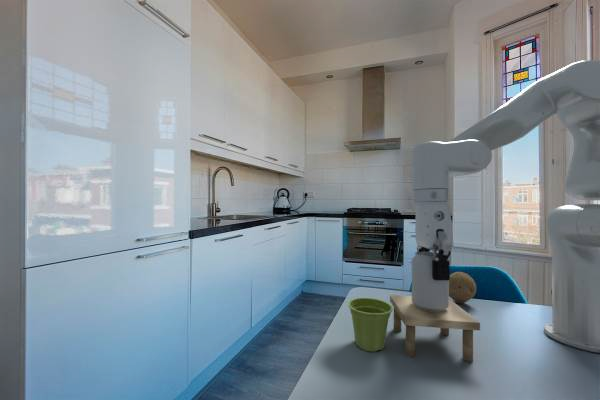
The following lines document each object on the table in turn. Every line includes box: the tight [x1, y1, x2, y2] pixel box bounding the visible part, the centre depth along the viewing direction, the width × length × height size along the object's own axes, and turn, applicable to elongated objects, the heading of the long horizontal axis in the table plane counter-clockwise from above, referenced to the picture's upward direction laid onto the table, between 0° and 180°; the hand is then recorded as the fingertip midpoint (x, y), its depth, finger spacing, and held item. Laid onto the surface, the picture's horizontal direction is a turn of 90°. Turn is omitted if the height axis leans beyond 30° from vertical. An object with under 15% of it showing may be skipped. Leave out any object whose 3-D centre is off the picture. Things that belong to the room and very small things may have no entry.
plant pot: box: [347, 297, 394, 353], centre depth 58 cm, size 9×9×9 cm
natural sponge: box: [449, 271, 477, 304], centre depth 85 cm, size 9×9×10 cm
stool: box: [389, 294, 481, 363], centre depth 59 cm, size 14×14×8 cm
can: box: [411, 251, 450, 312], centre depth 60 cm, size 8×8×12 cm
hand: (432, 274), depth 60 cm, fingers open, 9 cm apart
